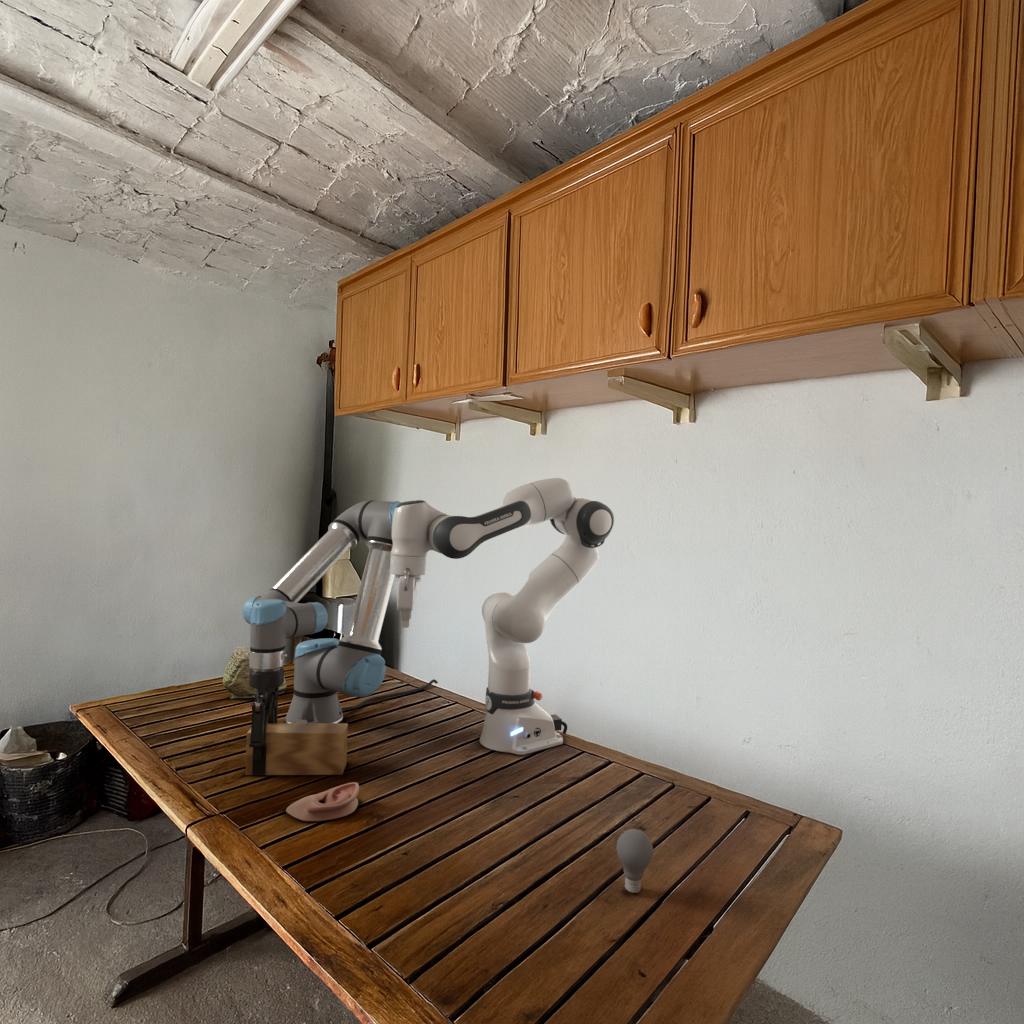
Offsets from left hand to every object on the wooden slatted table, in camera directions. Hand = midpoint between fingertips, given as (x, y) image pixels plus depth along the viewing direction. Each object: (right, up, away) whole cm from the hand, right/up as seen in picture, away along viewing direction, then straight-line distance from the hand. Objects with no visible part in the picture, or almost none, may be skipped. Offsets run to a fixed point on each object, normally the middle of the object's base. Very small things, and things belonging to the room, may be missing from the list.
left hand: (263, 767), depth 146 cm
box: (+8, -1, +1) cm, 8 cm away
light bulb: (+77, -5, -40) cm, 87 cm away
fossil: (-23, +2, +52) cm, 57 cm away
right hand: (+32, +32, +9) cm, 46 cm away
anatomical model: (+19, -2, -17) cm, 26 cm away
